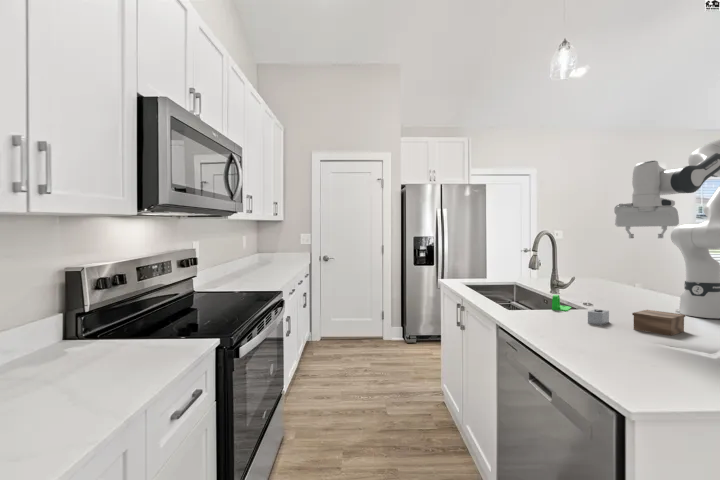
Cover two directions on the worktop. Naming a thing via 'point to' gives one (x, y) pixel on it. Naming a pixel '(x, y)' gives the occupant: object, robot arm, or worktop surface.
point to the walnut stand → (659, 322)
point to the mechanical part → (558, 304)
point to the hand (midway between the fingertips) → (645, 238)
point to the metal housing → (598, 317)
